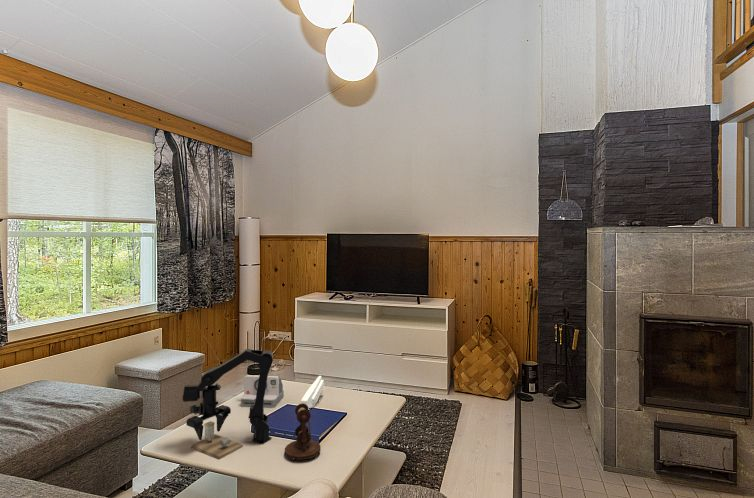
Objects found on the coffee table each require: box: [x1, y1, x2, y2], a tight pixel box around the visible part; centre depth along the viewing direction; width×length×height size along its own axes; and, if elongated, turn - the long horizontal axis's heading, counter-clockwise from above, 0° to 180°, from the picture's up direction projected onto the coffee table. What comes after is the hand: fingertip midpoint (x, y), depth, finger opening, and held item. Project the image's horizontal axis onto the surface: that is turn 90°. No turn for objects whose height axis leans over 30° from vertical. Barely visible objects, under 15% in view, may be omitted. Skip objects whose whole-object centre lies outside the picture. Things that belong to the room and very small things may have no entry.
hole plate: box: [190, 434, 244, 460], centre depth 182 cm, size 18×12×5 cm, turn 59°
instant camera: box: [240, 374, 285, 409], centre depth 236 cm, size 21×21×15 cm
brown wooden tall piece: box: [284, 403, 321, 462], centre depth 177 cm, size 15×15×20 cm
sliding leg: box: [203, 420, 215, 442], centre depth 185 cm, size 3×3×8 cm
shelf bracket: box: [300, 375, 325, 410], centre depth 232 cm, size 6×25×13 cm, turn 168°
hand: (209, 435), depth 185 cm, fingers open, 9 cm apart
